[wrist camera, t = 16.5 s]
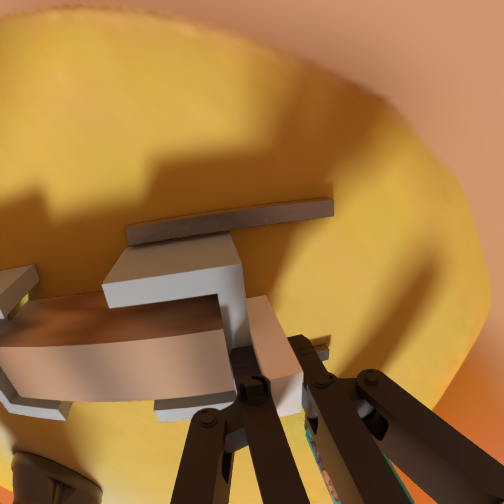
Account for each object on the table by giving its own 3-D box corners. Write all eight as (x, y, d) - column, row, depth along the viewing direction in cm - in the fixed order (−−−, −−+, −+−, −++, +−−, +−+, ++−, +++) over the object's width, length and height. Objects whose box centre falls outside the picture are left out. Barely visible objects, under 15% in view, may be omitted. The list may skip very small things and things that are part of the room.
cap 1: (28, 373, 17) (9, 412, 13) (-18, 274, 14) (-54, 305, 9) (82, 374, 18) (66, 420, 13) (34, 263, 15) (-4, 298, 10)
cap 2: (163, 369, 19) (159, 422, 14) (126, 247, 16) (101, 284, 11) (245, 358, 20) (260, 408, 15) (229, 231, 17) (242, 263, 12)
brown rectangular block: (49, 344, 17) (20, 396, 11) (29, 299, 16) (-11, 346, 10) (223, 326, 19) (235, 390, 13) (214, 272, 17) (223, 328, 12)
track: (173, 381, 20) (172, 388, 19) (127, 225, 15) (124, 228, 15) (324, 353, 21) (328, 359, 21) (327, 197, 17) (333, 199, 16)
